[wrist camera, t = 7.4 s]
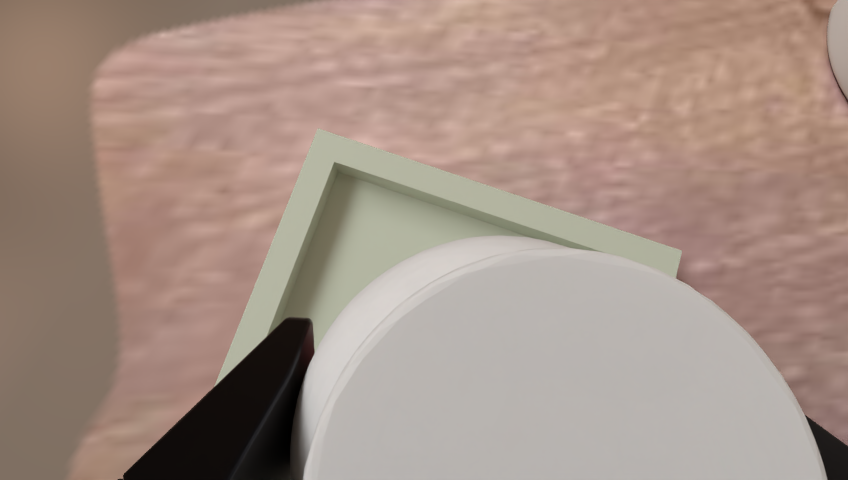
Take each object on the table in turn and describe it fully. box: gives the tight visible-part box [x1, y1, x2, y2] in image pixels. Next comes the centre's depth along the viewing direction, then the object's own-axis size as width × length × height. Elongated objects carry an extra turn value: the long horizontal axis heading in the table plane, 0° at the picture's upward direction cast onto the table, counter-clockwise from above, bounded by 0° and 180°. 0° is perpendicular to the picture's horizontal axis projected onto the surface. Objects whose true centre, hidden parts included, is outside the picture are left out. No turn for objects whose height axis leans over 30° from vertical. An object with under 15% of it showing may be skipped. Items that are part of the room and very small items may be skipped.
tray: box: [214, 129, 682, 387], centre depth 18 cm, size 14×14×2 cm
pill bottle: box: [290, 235, 827, 480], centre depth 10 cm, size 6×6×11 cm
